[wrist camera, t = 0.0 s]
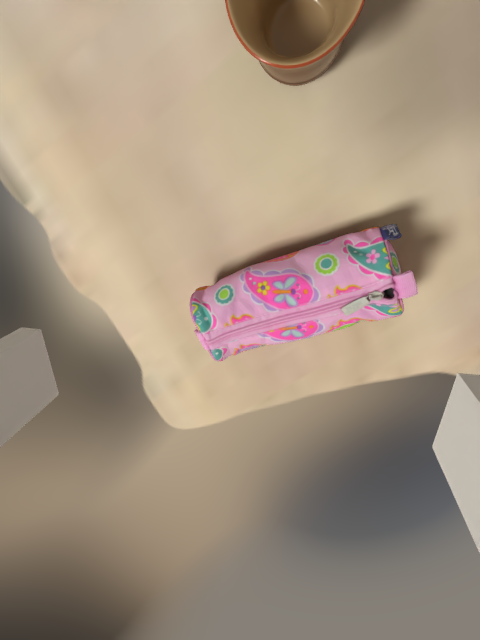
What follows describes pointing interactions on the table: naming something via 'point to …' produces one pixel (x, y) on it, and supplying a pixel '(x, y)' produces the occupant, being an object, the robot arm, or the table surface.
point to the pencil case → (303, 294)
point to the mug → (293, 34)
